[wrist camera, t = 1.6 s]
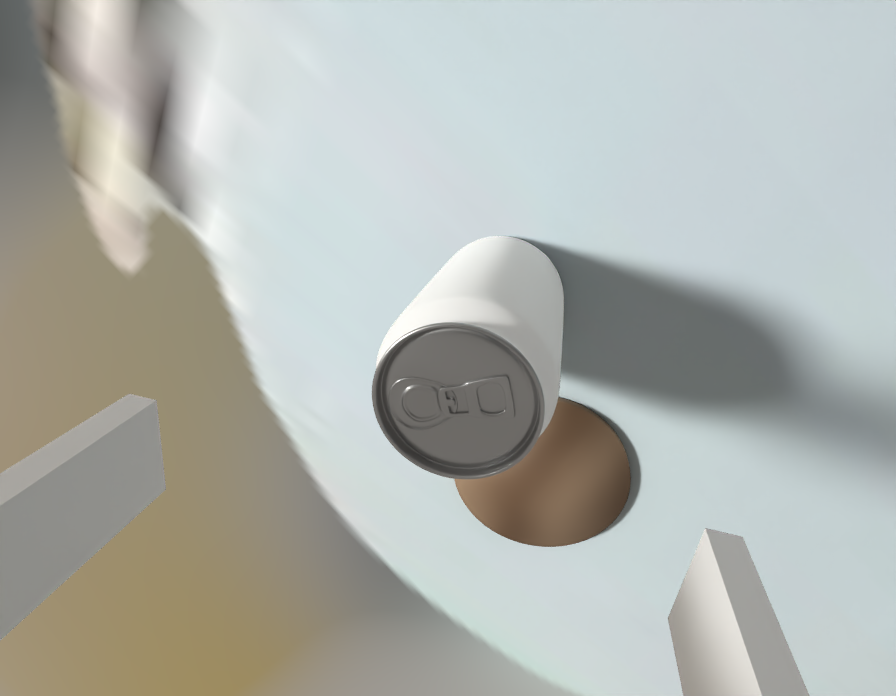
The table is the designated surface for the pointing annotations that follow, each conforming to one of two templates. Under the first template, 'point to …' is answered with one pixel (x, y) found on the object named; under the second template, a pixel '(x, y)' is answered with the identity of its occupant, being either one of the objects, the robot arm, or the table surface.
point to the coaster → (556, 483)
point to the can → (474, 361)
